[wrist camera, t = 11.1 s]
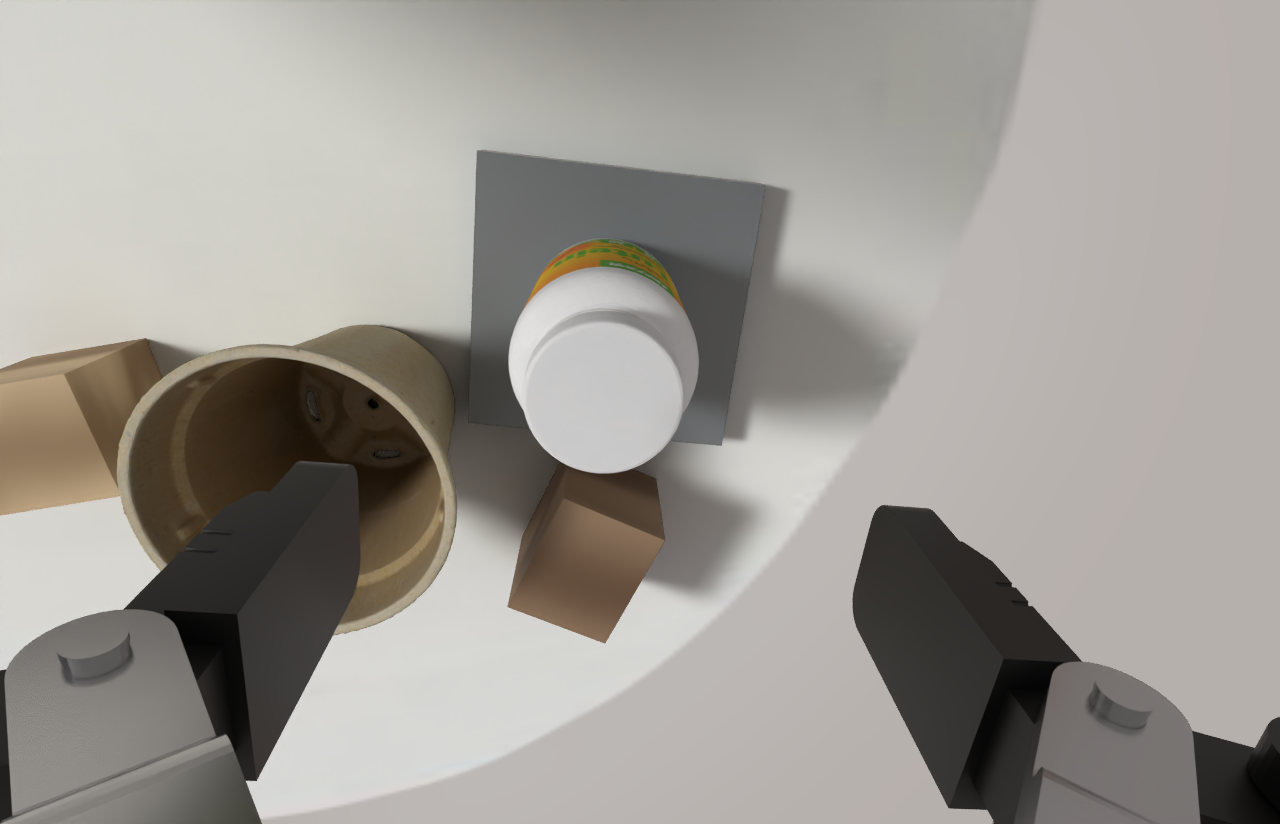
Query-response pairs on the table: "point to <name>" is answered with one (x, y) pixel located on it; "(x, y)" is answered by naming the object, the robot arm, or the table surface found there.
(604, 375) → the supplement bottle
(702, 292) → the coaster
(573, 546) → the walnut block
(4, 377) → the oak cube
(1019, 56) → the table surface
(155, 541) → the flower pot
